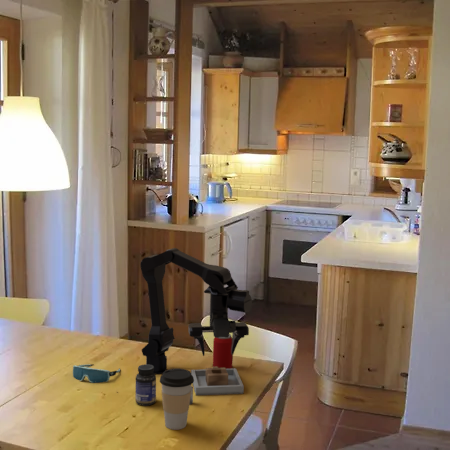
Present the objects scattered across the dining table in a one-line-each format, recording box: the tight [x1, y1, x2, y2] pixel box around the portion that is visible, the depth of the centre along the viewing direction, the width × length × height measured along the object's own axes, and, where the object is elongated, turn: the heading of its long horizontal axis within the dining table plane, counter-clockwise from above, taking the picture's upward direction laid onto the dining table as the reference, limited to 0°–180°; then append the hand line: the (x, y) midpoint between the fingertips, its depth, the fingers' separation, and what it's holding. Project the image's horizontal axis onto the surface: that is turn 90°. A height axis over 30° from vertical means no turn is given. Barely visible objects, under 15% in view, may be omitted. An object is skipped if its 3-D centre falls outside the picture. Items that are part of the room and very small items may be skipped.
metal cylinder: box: [189, 385, 194, 406], centre depth 194 cm, size 2×2×5 cm
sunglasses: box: [72, 363, 121, 384], centre depth 215 cm, size 14×15×5 cm
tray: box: [190, 368, 245, 396], centre depth 208 cm, size 15×15×2 cm
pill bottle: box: [135, 363, 157, 407], centre depth 193 cm, size 6×6×11 cm
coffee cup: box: [159, 367, 194, 431], centre depth 179 cm, size 9×9×15 cm
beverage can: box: [212, 333, 234, 369], centre depth 222 cm, size 7×7×12 cm
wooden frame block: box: [205, 366, 228, 386], centre depth 208 cm, size 6×8×4 cm
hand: (217, 355), depth 207 cm, fingers open, 9 cm apart
